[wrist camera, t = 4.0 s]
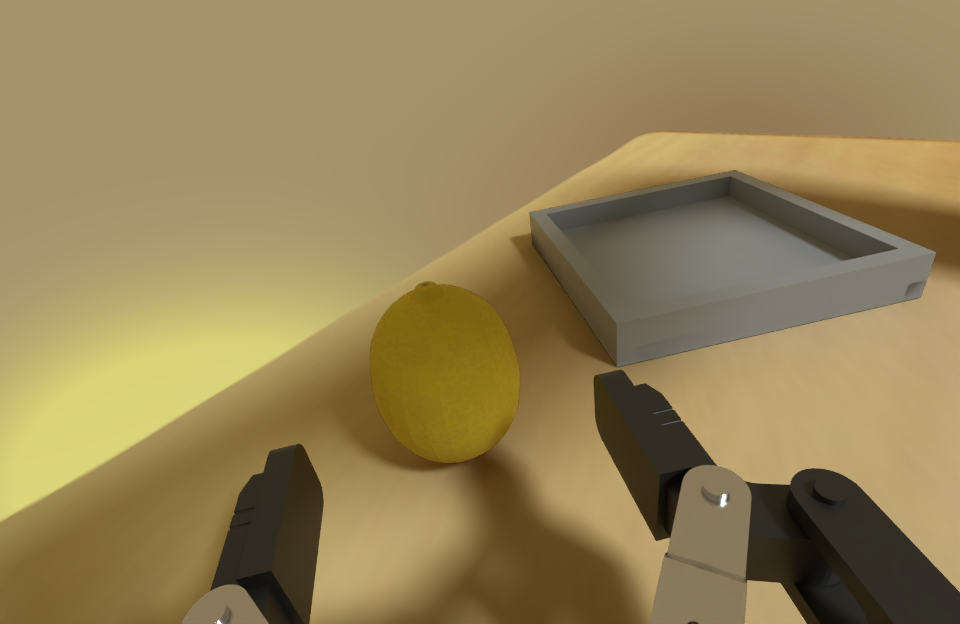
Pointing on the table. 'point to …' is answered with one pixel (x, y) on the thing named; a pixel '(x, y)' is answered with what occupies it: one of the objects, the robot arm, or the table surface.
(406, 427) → the lemon
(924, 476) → the table surface
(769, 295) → the tray
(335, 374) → the table surface
